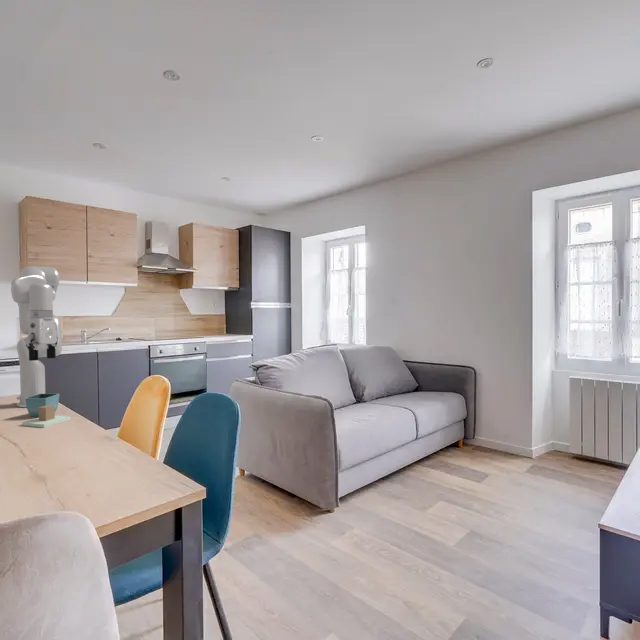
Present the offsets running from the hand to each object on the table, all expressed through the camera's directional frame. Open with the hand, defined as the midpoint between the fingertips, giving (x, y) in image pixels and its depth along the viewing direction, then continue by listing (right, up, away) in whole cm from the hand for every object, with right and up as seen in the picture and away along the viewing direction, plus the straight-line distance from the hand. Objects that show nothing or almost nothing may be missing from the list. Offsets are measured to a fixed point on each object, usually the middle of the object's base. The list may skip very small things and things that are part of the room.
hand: (42, 359), depth 157 cm
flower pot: (-7, -25, +10) cm, 28 cm away
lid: (+3, -24, -2) cm, 25 cm away
